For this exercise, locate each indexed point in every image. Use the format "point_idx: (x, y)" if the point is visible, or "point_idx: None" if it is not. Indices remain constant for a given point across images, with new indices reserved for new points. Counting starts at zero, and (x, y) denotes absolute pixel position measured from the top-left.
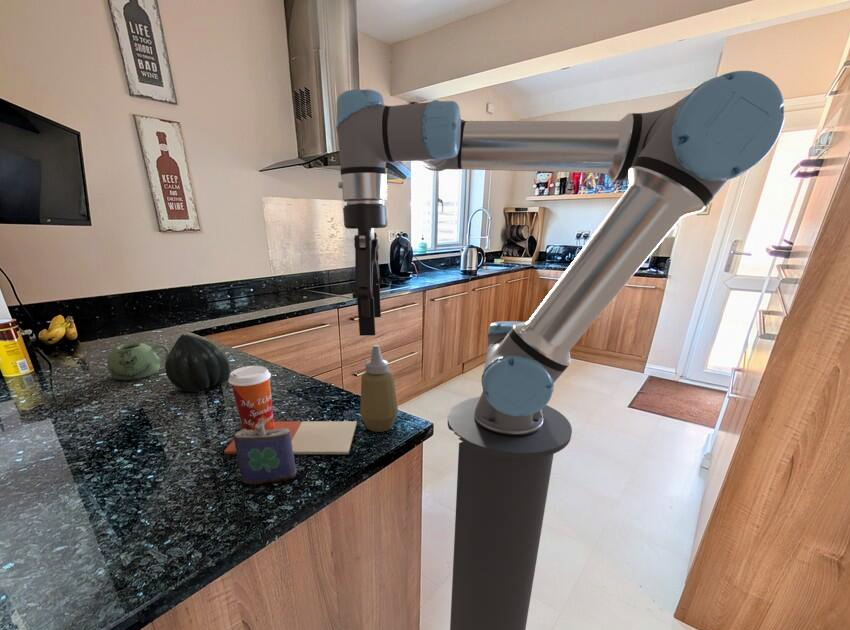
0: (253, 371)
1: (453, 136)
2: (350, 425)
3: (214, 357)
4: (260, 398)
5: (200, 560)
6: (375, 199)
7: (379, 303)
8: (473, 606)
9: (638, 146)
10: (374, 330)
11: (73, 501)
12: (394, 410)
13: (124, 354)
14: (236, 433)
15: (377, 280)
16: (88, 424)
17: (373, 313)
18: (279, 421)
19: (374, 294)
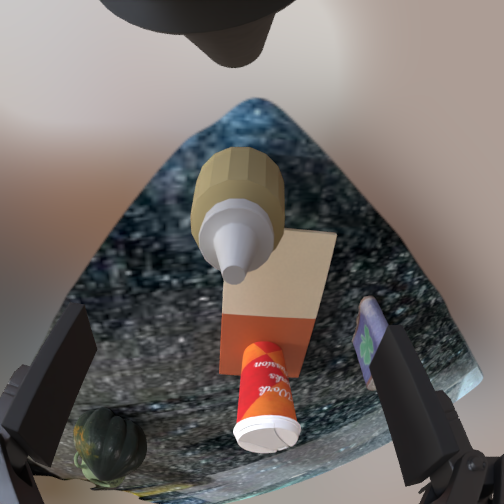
0: (268, 438)
1: None
2: None
3: (108, 444)
4: (289, 399)
5: (450, 334)
6: None
7: (58, 354)
8: (260, 44)
9: None
10: (409, 339)
11: (345, 428)
12: (266, 157)
13: (114, 482)
14: (374, 389)
15: (4, 455)
16: (217, 462)
17: (435, 393)
18: (221, 341)
19: (49, 407)
